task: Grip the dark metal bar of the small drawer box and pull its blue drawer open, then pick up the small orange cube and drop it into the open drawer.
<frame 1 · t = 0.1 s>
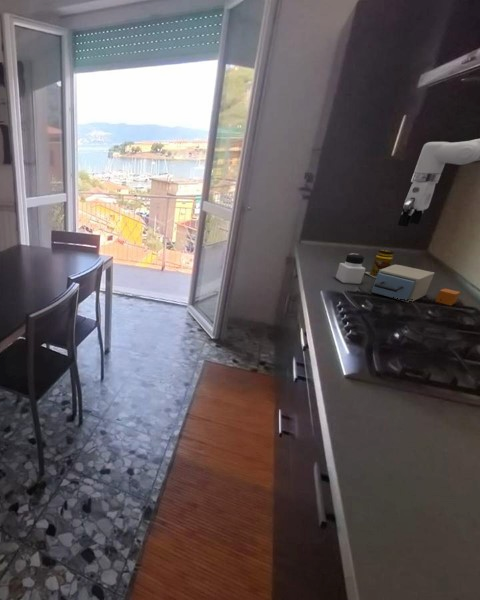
hand: (408, 224, 138), 27 cm above the worktop, tool pointing down, fingers open, 9 cm apart
condiment: (376, 275, 164), on the worktop
blue drawer: (395, 285, 139), point 5 cm above the worktop, slide at 1.0 cm
medicine bottle: (347, 281, 157), on the worktop
small drawer box: (398, 293, 144), on the worktop
orange cube: (445, 302, 136), on the worktop
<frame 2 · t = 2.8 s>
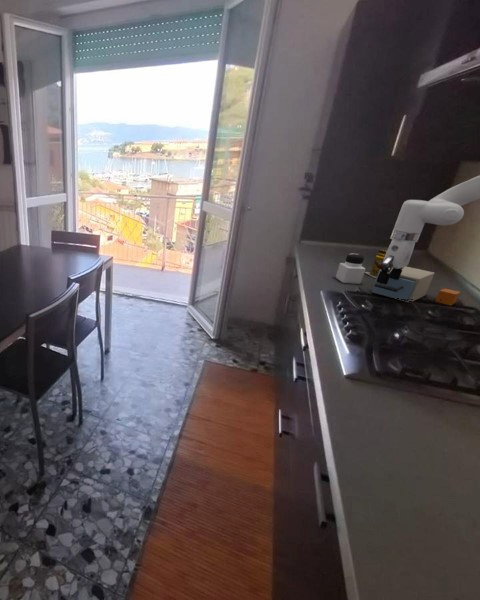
hand: (387, 280, 134), 8 cm above the worktop, tool pointing down, fingers open, 9 cm apart
blue drawer: (395, 285, 139), point 5 cm above the worktop, slide at 0.9 cm, touching gripper
everything else where it was.
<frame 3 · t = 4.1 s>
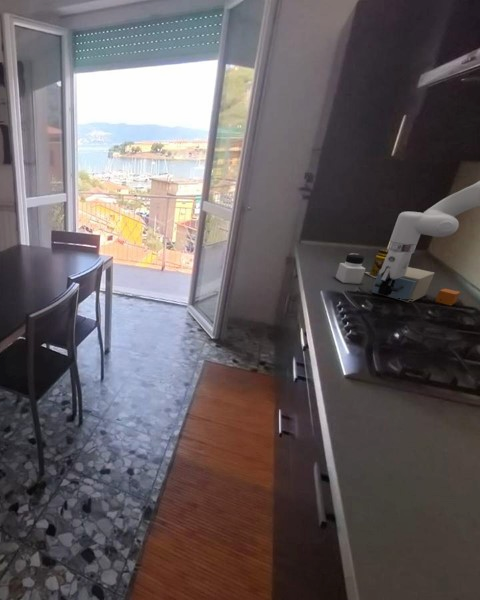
hand: (384, 293, 135), 3 cm above the worktop, tool pointing down, fingers closed
blue drawer: (396, 285, 139), point 5 cm above the worktop, slide at 0.6 cm, touching gripper
everything else where it was.
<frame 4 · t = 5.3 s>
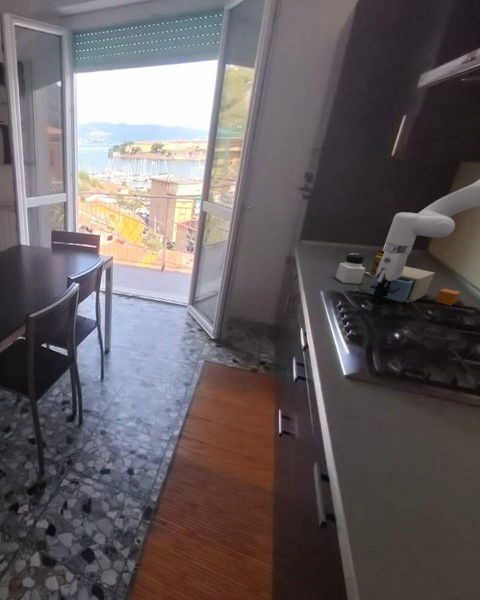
hand: (380, 295, 134), 3 cm above the worktop, tool pointing down, fingers closed
blue drawer: (392, 286, 138), point 5 cm above the worktop, slide at 4.0 cm, touching gripper
everything else where it was.
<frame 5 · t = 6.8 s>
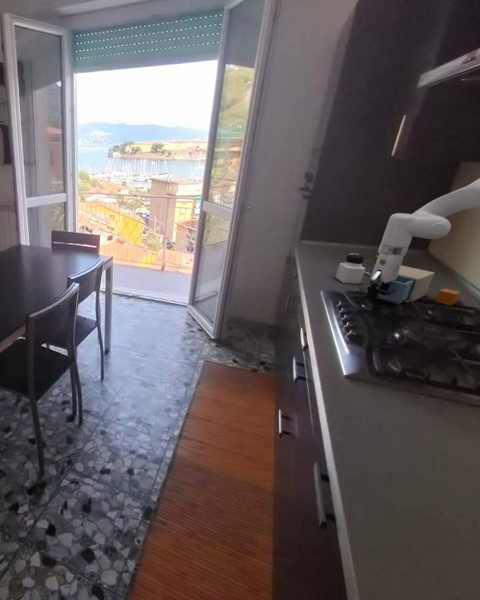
hand: (376, 295, 132), 4 cm above the worktop, tool pointing down, fingers open, 7 cm apart
blue drawer: (389, 288, 136), point 5 cm above the worktop, slide at 6.8 cm
everything else where it was.
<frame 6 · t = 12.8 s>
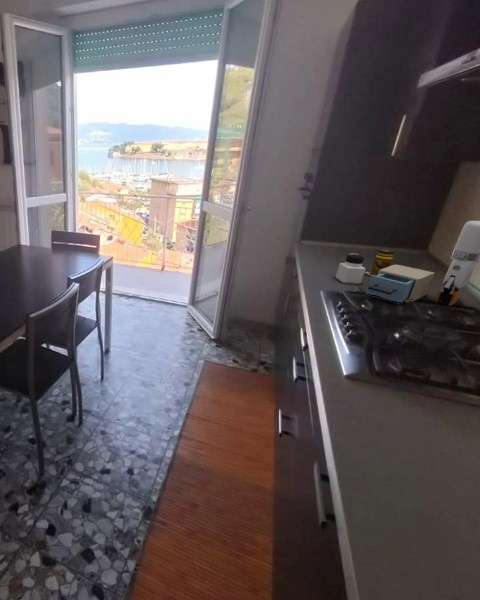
hand: (445, 301, 136), 0 cm above the worktop, tool pointing down, fingers closed on orange cube, 4 cm apart
blue drawer: (390, 287, 137), point 5 cm above the worktop, slide at 6.1 cm
orange cube: (445, 302, 136), on the worktop, touching gripper
everything else where it was.
when the fingers open (9 cm above the worktop, at t = 19.7 s): orange cube stays where it is, resting on blue drawer.
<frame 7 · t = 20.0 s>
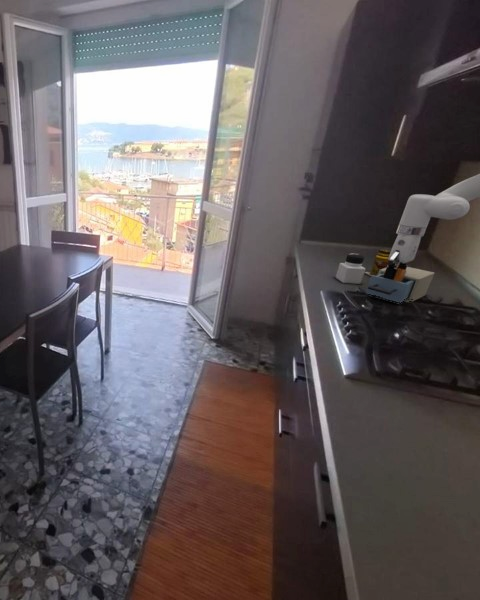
hand: (393, 276, 134), 10 cm above the worktop, tool pointing down, fingers open, 7 cm apart
blue drawer: (389, 287, 136), point 5 cm above the worktop, slide at 6.2 cm, touching orange cube
orange cube: (391, 279, 135), point 8 cm above the worktop, tilted 17°, touching blue drawer
everything else where it was.
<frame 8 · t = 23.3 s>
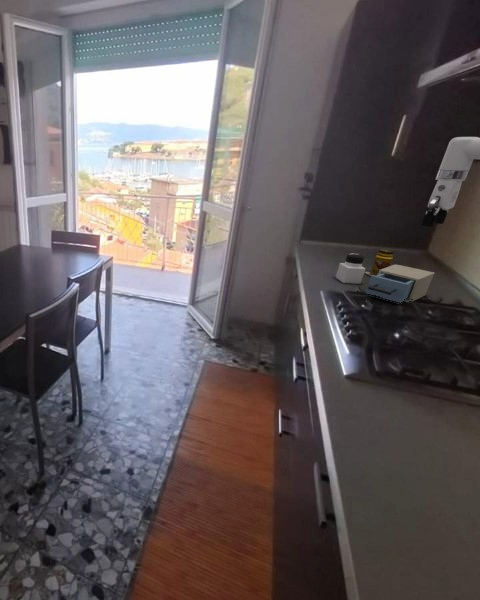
hand: (432, 224, 131), 28 cm above the worktop, tool pointing down, fingers open, 9 cm apart
orange cube: (387, 289, 136), point 4 cm above the worktop, tilted 90°, touching blue drawer
everything else where it was.
at the end: blue drawer slide at 6.2 cm; orange cube inside the target area in the blue drawer (4.4 cm from its centre), point 4.3 cm above the small drawer box's base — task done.
